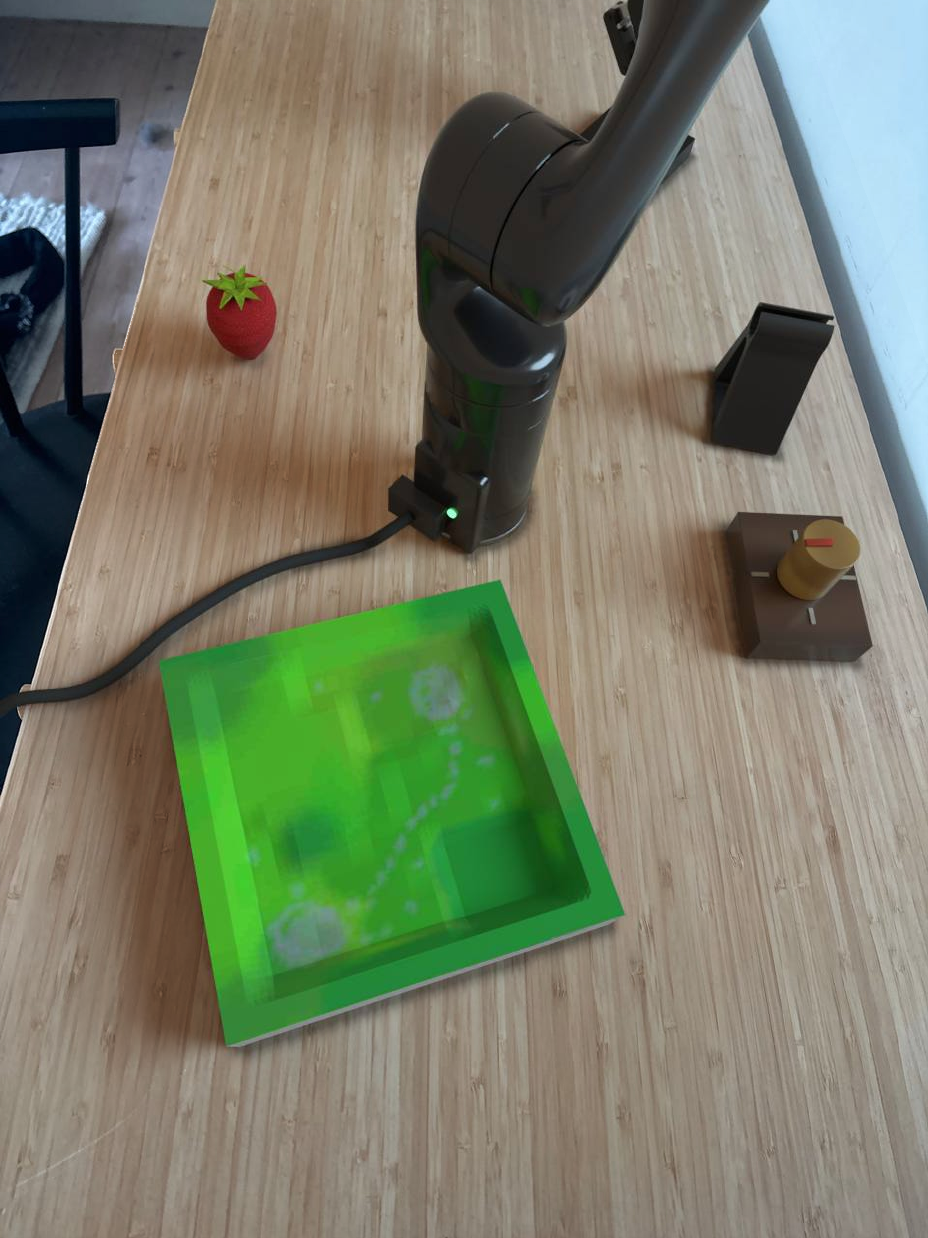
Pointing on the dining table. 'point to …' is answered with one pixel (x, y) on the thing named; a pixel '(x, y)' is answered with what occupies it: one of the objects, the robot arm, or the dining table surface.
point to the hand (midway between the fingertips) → (639, 122)
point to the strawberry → (241, 313)
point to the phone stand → (766, 376)
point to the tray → (377, 808)
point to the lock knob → (818, 559)
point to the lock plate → (790, 596)
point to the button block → (676, 163)
